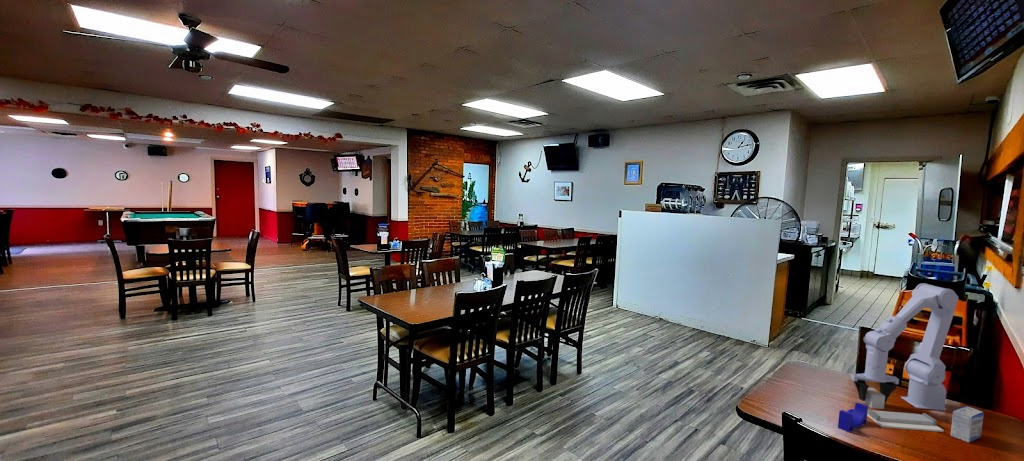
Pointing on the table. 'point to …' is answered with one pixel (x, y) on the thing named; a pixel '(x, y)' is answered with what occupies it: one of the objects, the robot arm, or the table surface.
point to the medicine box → (967, 424)
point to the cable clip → (853, 417)
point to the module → (874, 399)
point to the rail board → (904, 420)
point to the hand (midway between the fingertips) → (872, 400)
